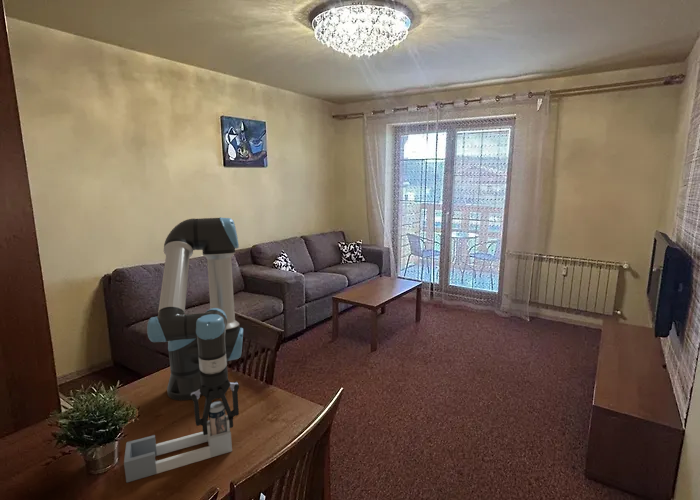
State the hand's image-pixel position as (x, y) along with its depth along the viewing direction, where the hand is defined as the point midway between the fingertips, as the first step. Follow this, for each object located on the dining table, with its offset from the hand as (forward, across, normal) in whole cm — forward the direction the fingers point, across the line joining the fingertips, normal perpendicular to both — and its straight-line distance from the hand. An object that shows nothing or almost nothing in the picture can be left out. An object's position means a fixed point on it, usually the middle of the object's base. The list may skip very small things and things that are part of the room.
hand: (219, 439), depth 117 cm
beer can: (+1, 0, 0) cm, 1 cm away
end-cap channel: (+2, -11, 0) cm, 11 cm away
